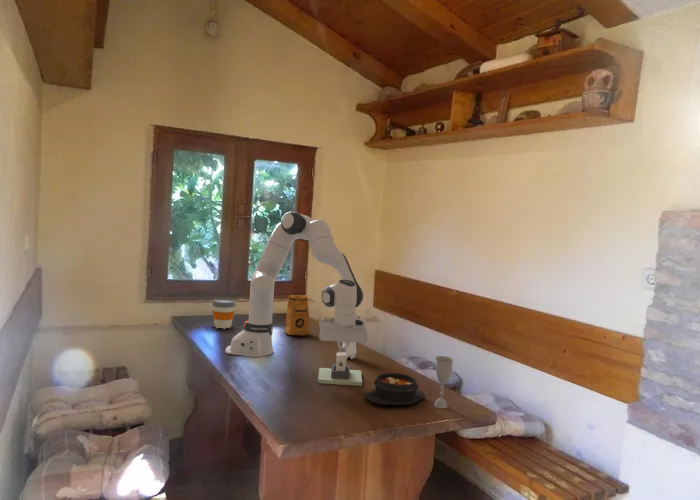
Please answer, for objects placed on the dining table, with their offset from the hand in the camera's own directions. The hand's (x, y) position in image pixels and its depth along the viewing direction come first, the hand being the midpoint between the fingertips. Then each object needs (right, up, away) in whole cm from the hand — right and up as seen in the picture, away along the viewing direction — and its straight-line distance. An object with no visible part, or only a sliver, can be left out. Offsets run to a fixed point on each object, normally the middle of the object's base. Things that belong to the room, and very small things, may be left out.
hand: (342, 351), depth 226 cm
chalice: (+37, -16, -22) cm, 46 cm away
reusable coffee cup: (-68, -1, +78) cm, 104 cm away
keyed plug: (-1, -10, +1) cm, 10 cm away
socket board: (-1, -11, +2) cm, 12 cm away
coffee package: (-26, -4, +73) cm, 78 cm away
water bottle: (+2, -9, +34) cm, 35 cm away
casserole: (+20, -15, -20) cm, 32 cm away
